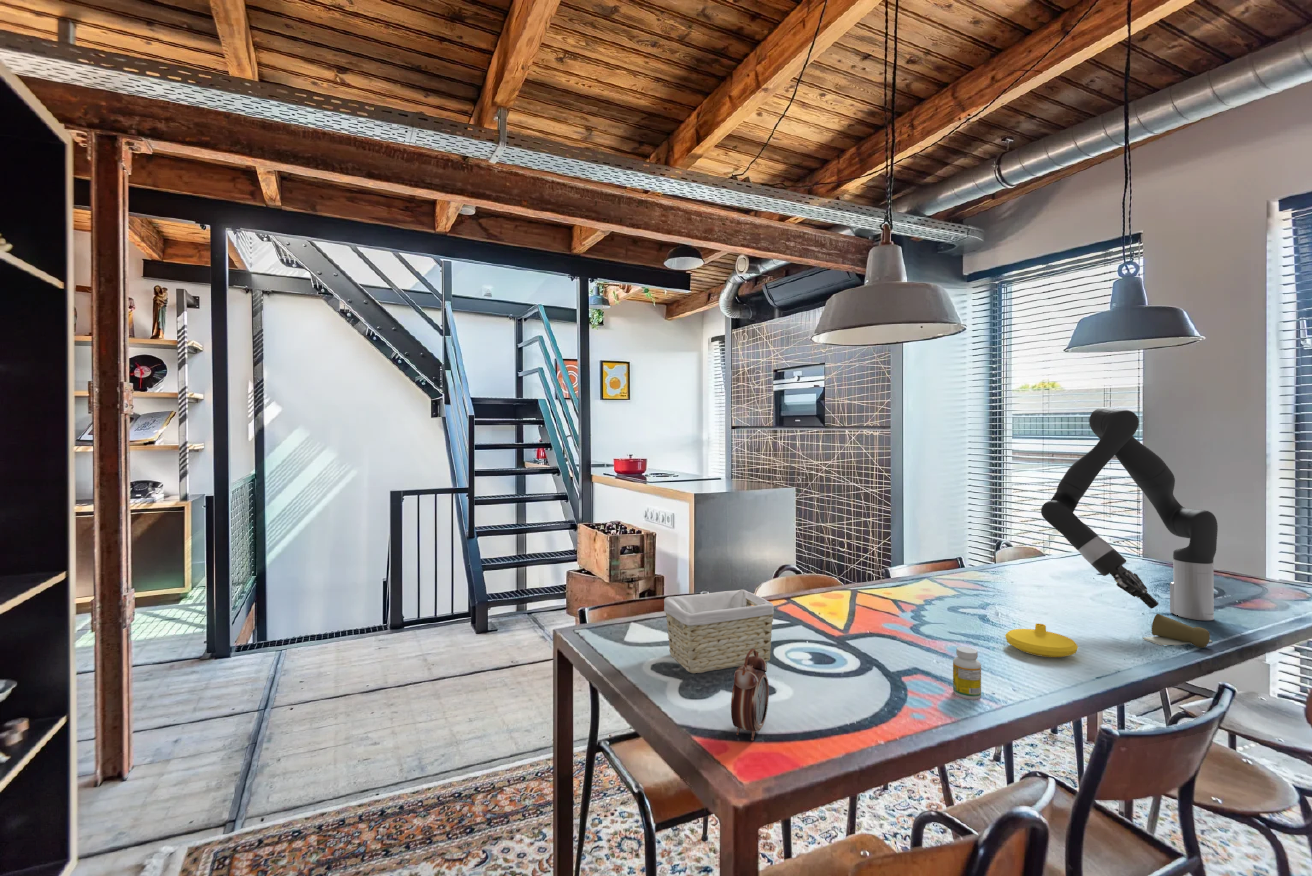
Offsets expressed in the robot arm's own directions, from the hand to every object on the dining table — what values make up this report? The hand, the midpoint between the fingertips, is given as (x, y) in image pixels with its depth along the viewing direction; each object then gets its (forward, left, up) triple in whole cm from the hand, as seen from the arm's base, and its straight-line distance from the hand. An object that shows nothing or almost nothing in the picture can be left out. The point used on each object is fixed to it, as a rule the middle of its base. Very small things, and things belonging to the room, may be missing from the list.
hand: (1155, 606), depth 164 cm
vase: (+4, -42, -9) cm, 43 cm away
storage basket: (-7, -124, -9) cm, 125 cm away
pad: (+4, +2, -8) cm, 9 cm away
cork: (+1, -1, -5) cm, 5 cm away
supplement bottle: (+23, -79, -8) cm, 82 cm away
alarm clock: (+29, -130, -8) cm, 133 cm away
